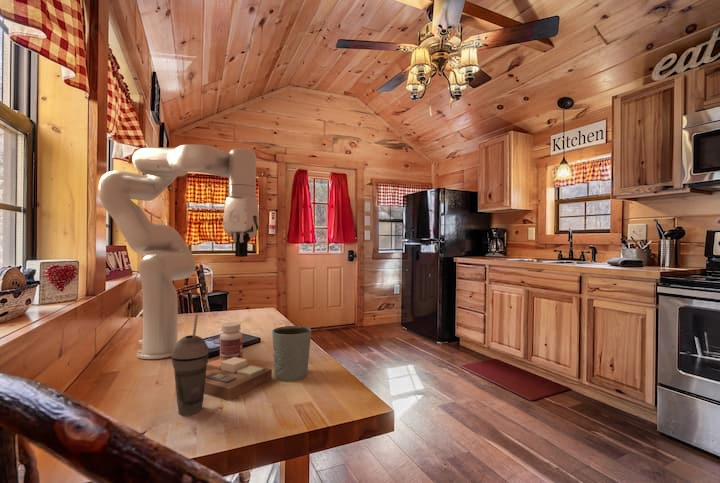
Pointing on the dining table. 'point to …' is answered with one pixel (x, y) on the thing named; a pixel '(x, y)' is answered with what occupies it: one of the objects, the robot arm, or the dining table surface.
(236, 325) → the pill bottle
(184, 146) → the robot arm
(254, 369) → the key sage
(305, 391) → the dining table surface
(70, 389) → the dining table surface
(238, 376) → the keypad board
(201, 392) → the beverage cup
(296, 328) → the grey green cup
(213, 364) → the key terracotta
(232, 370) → the key cream
